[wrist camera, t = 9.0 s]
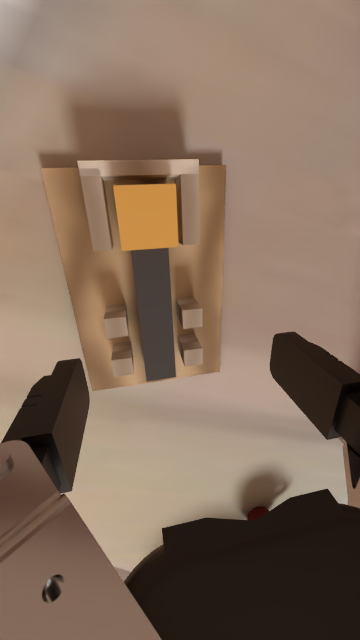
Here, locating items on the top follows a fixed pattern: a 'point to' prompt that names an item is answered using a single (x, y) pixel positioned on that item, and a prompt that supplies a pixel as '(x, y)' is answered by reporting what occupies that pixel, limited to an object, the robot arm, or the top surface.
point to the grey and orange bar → (151, 267)
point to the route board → (117, 269)
